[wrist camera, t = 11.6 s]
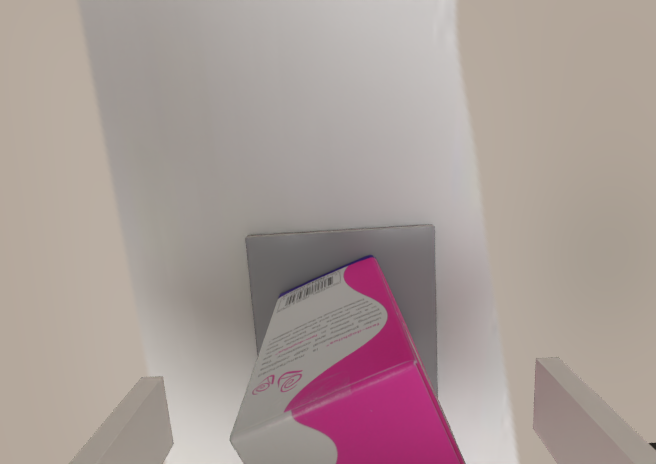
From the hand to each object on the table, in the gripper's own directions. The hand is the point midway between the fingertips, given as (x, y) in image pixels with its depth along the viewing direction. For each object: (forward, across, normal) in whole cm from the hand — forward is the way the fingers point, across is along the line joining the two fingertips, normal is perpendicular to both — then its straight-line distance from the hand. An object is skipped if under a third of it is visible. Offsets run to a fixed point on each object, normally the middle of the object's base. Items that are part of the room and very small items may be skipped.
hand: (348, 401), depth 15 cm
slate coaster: (+9, 0, -1) cm, 9 cm away
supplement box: (+8, 0, -1) cm, 8 cm away
